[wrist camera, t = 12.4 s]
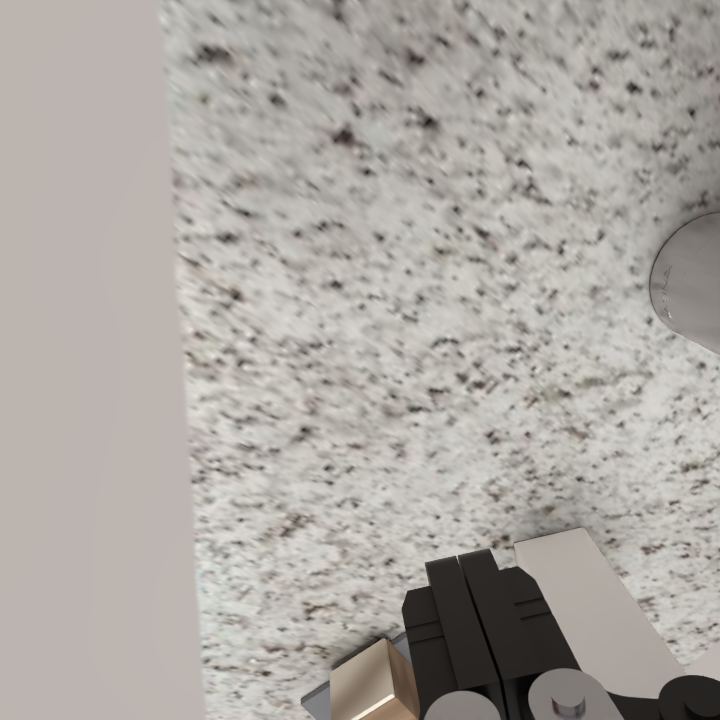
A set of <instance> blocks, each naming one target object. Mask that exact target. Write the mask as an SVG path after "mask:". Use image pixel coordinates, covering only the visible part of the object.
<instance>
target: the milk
mask: <svg viewBox="0 0 720 720" xmlns="http://www.w3.org/2000/svg"><path fill="white" fill-rule="evenodd" d="M514 548H515V554H516V560H517V566H519V567H520V568H521V569H523V570H524V571H525V572H526V573H528V574H529V575H530V576H532V577H533V578H534V579H535V580H536V582H537V584H538V586H539V588H540V590H541V592H542V594H543V596H544V598H545V600H546V601H547V603H548V605H549V607H550V609H551V611H552V615H554V617H555V619H556V621H557V623H558V625H559V627H560V629H561V631H562V633H563V635H564V637H565V639H566V641H567V643H568V645H569V647H570V649H571V651H572V652H573V654H574V656H575V658H576V660H577V662H578V664H579V666H580V668H581V670H582V671H583V672H584V673H586V674H588V675H590V676H592V677H593V678H595V679H596V680H597V681H598V682H599V683H600V684H601V685H602V686H603V687H604V689H605V690H606V691H608V692H611V693H614V694H617V695H621V696H627V697H638V698H652V699H658V697H659V693H660V691H661V689H662V688H663V686H664V685H665V684H666V683H668V682H669V681H670V680H672V679H674V678H677V677H681V676H687V674H686V673H685V671H684V670H683V668H682V667H681V665H680V664H679V663H678V661H677V660H676V658H675V657H674V655H673V654H672V653H671V651H670V650H669V648H668V647H667V646H666V644H665V643H664V641H663V640H662V638H661V637H660V636H659V634H658V633H657V631H656V630H655V628H654V627H653V626H652V624H651V623H650V621H649V620H648V619H647V617H646V616H645V614H644V613H643V611H642V610H641V609H640V607H639V606H638V604H637V603H636V602H635V600H634V599H633V597H632V596H631V594H630V593H629V592H628V590H627V589H626V587H625V586H624V584H623V583H622V582H621V580H620V579H619V577H618V576H617V575H616V573H615V572H614V570H613V569H612V567H611V566H610V565H609V563H608V562H607V560H606V559H605V557H604V556H603V555H602V553H601V552H600V550H599V549H598V548H597V546H596V545H595V543H594V542H593V540H592V539H591V538H590V536H589V535H588V533H587V532H586V530H585V529H584V528H583V527H581V528H577V529H573V530H568V531H564V532H560V533H555V534H551V535H547V536H543V537H538V538H534V539H530V540H525V541H521V542H517V543H514Z"/></svg>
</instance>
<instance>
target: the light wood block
mask: <svg viewBox="0 0 720 720" xmlns="http://www.w3.org/2000/svg"><path fill="white" fill-rule="evenodd" d="M330 701H331V720H419V716H420V703H419V698H418V693H417V688H416V682H415V677H414V672H413V667H412V665H411V664H410V663H409V661H408V660H407V659H406V658H405V657H404V656H403V655H402V654H401V653H400V652H399V651H398V650H397V649H396V648H395V647H394V646H393V645H392V643H391V642H390V641H389V640H388V639H387V640H386V639H385V638H383V639H381V640H380V641H378V642H377V643H375V644H373V645H372V646H370V647H369V648H367V649H366V650H364V651H363V652H361V653H360V654H358V655H356V656H355V657H353V658H352V659H350V660H349V661H347V662H346V663H344V664H342V665H341V666H339V667H338V668H336V669H335V670H333V671H332V672H330Z"/></svg>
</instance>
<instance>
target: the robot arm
mask: <svg viewBox="0 0 720 720" xmlns="http://www.w3.org/2000/svg"><path fill="white" fill-rule="evenodd" d="M650 292H651V299H652V304H653V306H654V308H655V311H656V313H657V315H658V316H659V318H660V319H661V320H662V322H663V323H664V324H665V325H667V326H668V327H669V328H670V329H672V330H673V331H675V332H677V333H679V334H681V335H683V336H684V337H686V338H688V339H690V340H692V341H694V342H696V343H698V344H700V345H702V346H703V347H705V348H707V349H709V350H711V351H713V352H715V353H716V354H718V355H720V213H714V214H709V215H705V216H702V217H700V218H698V219H695V220H693V221H691V222H690V223H688V224H687V225H685V226H684V227H682V228H681V229H679V230H678V231H677V232H676V233H675V234H674V235H673V236H672V237H671V238H670V239H669V240H668V242H667V243H666V244H665V246H664V247H663V248H662V250H661V251H660V253H659V255H658V258H657V260H656V262H655V264H654V267H653V271H652V275H651V285H650ZM458 562H459V563H458ZM425 567H426V572H427V576H428V581H429V586H427V587H423V588H418V589H414V590H409V591H407V594H406V597H405V600H404V603H403V606H402V614H403V619H404V625H405V629H406V635H407V640H408V645H409V651H410V656H411V661H412V667H413V672H414V677H415V682H416V688H417V693H418V698H419V703H420V716H419V720H720V681H717V680H715V679H712V678H709V677H704V676H698V675H687V676H681V677H677V678H674V679H672V680H670V681H669V682H668V683H666V684H665V685H664V686H663V688H662V689H661V691H660V693H659V697H658V699H652V698H638V697H627V696H621V695H617V694H614V693H611V692H608V691H606V690H605V689H604V687H603V686H602V685H601V684H600V683H599V682H598V681H597V680H596V679H595V678H593V677H592V676H590V675H588V674H586V673H584V672H583V671H582V670H581V668H580V666H579V664H578V662H577V660H576V658H575V656H574V654H573V652H572V651H571V649H570V647H569V645H568V643H567V641H566V639H565V637H564V635H563V633H562V631H561V629H560V627H559V625H558V623H557V621H556V619H555V617H554V615H552V611H551V609H550V607H549V605H548V603H547V601H546V600H545V598H544V596H543V594H542V592H541V590H540V588H539V586H538V584H537V582H536V580H535V579H534V578H533V577H532V576H530V575H529V574H528V573H526V572H525V571H524V570H523V569H521V568H520V567H519V566H517V567H513V568H508V569H504V570H499V569H498V567H497V564H496V562H495V560H494V557H493V555H492V553H491V551H490V549H484V550H480V551H475V552H471V553H466V554H462V555H458V560H457V558H456V556H452V557H448V558H443V559H439V560H434V561H430V562H425Z"/></svg>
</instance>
